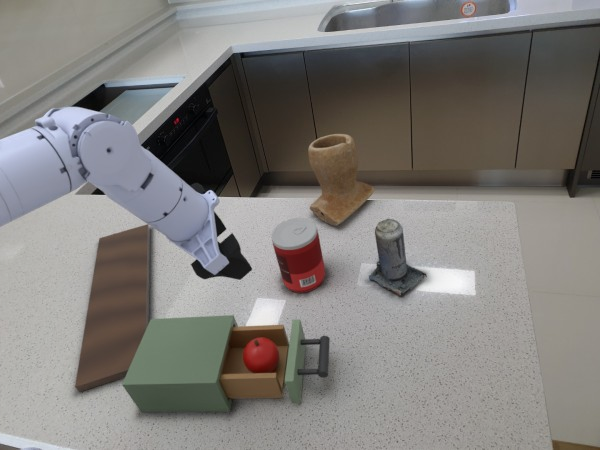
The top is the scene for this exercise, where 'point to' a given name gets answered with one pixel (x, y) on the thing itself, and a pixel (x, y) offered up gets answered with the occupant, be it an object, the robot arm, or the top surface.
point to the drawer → (289, 367)
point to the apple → (261, 356)
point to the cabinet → (181, 365)
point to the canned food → (299, 254)
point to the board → (116, 308)
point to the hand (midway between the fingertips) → (231, 252)
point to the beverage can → (393, 259)
